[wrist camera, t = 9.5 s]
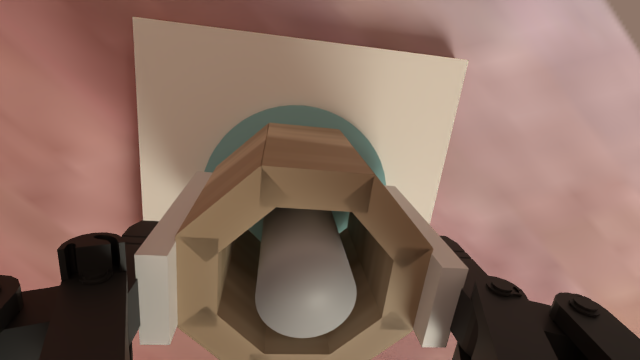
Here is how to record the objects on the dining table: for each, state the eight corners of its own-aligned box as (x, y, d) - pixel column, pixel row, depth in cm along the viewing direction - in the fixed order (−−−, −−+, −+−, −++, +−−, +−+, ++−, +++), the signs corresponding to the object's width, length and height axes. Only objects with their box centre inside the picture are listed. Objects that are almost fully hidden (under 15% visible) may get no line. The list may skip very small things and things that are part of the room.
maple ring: (214, 269, 16) (178, 381, 11) (217, 117, 14) (173, 158, 8) (361, 274, 17) (400, 380, 12) (386, 133, 15) (450, 180, 9)
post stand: (155, 298, 19) (61, 477, 11) (143, 19, 15) (-33, -30, 6) (400, 304, 21) (476, 462, 13) (455, 59, 16) (627, 61, 8)
